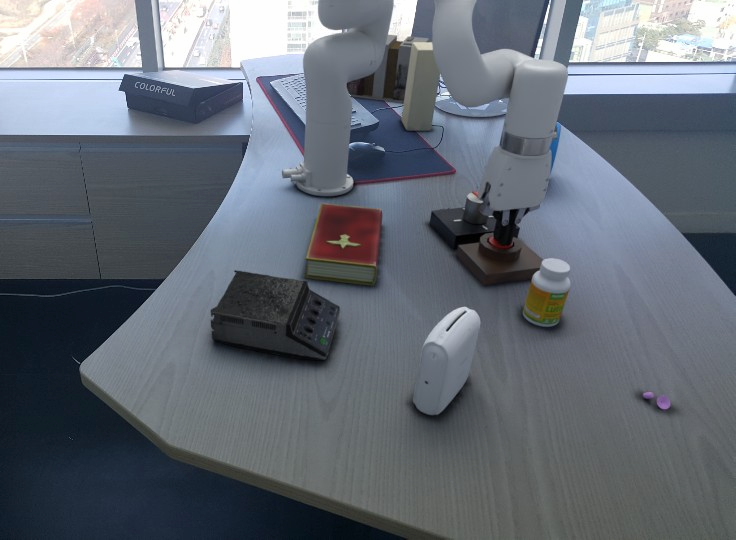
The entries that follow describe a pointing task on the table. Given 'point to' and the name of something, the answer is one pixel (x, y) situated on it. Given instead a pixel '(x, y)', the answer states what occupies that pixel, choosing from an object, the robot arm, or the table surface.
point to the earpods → (659, 400)
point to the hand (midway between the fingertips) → (502, 241)
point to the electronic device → (275, 317)
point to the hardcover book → (345, 244)
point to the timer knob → (473, 209)
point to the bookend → (387, 73)
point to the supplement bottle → (547, 293)
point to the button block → (499, 261)
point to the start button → (497, 245)
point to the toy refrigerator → (420, 88)
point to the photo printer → (446, 360)
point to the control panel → (461, 227)
